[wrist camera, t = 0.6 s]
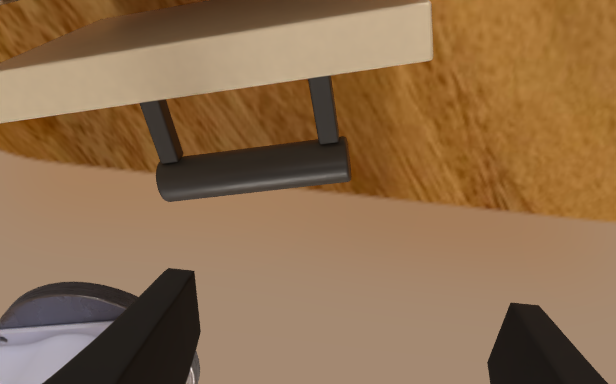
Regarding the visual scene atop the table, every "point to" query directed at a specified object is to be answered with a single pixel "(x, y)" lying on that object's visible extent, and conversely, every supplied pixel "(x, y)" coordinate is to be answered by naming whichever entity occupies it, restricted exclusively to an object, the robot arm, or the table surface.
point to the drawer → (220, 77)
